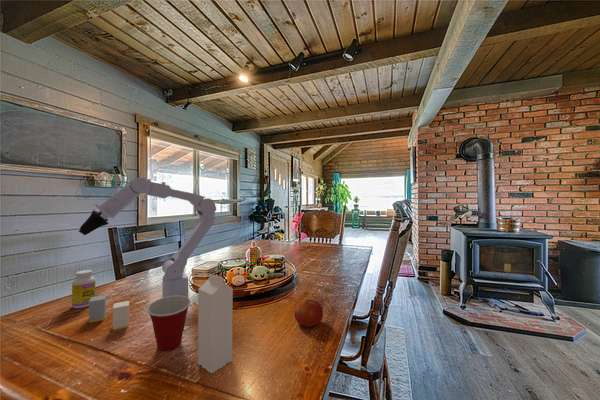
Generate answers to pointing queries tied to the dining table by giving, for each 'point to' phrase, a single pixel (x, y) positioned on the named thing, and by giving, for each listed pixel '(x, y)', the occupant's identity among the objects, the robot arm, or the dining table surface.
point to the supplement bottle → (83, 289)
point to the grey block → (97, 308)
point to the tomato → (308, 313)
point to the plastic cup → (169, 320)
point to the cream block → (120, 315)
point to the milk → (214, 324)
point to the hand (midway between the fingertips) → (82, 231)
